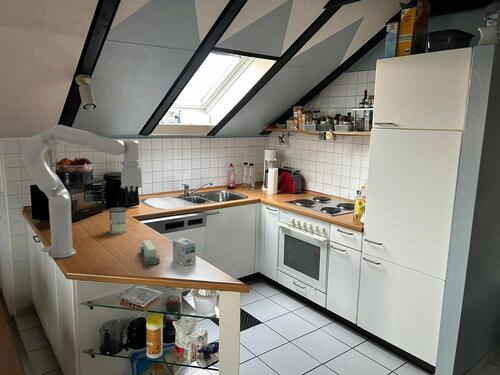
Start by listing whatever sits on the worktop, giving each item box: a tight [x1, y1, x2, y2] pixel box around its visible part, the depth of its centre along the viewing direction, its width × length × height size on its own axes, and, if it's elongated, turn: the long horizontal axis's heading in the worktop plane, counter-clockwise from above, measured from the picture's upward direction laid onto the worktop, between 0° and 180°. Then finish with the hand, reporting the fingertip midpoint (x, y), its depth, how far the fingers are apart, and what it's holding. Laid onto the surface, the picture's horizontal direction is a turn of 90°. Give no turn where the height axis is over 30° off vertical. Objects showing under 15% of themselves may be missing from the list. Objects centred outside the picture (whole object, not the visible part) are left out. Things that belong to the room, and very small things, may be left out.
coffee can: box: [108, 206, 128, 235], centre depth 236 cm, size 10×10×14 cm
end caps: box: [139, 245, 160, 265], centre depth 193 cm, size 6×20×3 cm, turn 24°
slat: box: [142, 239, 157, 258], centre depth 193 cm, size 4×16×7 cm, turn 25°
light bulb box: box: [172, 237, 197, 266], centre depth 189 cm, size 11×7×11 cm, turn 46°
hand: (131, 198), depth 205 cm, fingers closed
